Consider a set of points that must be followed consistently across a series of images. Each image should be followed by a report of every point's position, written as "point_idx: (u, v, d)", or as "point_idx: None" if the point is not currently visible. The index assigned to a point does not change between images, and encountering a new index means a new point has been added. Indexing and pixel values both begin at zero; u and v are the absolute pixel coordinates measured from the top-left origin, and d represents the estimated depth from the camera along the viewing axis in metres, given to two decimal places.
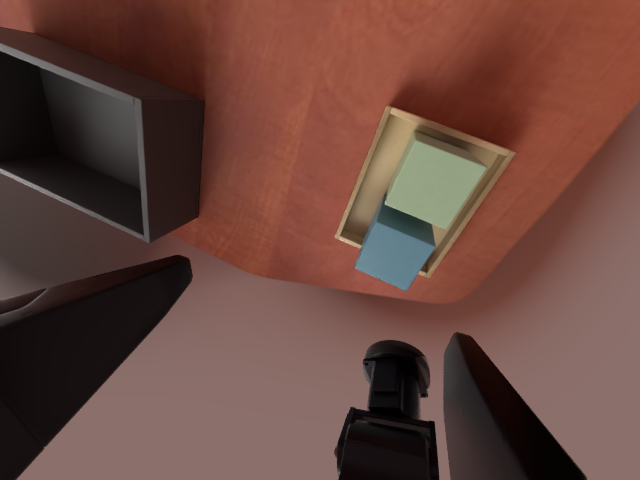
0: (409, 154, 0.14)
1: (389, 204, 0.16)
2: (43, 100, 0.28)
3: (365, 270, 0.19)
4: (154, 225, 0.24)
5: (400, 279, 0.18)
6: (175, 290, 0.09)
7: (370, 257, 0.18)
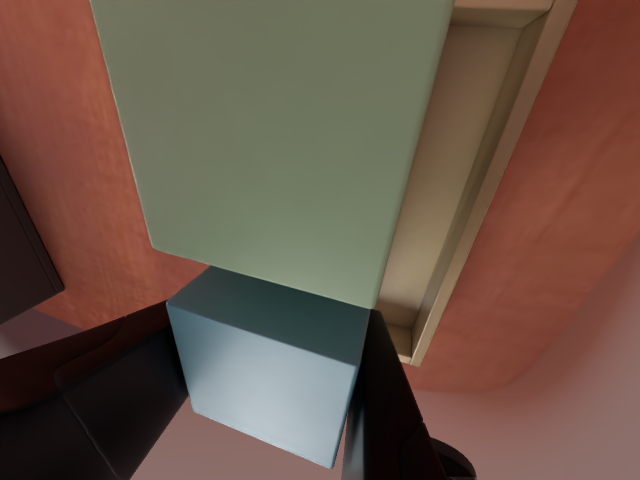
0: (97, 23, 0.03)
1: (161, 247, 0.05)
2: None
3: (216, 418, 0.07)
4: None
5: (303, 444, 0.06)
6: None
7: (209, 392, 0.06)
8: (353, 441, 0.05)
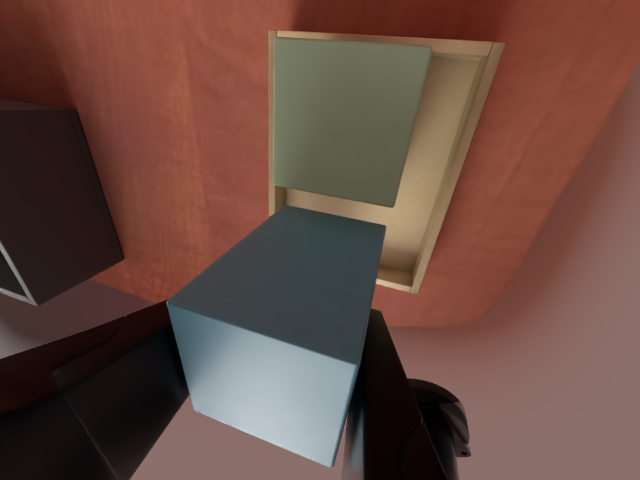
0: (274, 73, 0.07)
1: (279, 183, 0.09)
2: None
3: (217, 417, 0.07)
4: (38, 282, 0.18)
5: (303, 443, 0.06)
6: None
7: (210, 391, 0.06)
8: (353, 441, 0.05)
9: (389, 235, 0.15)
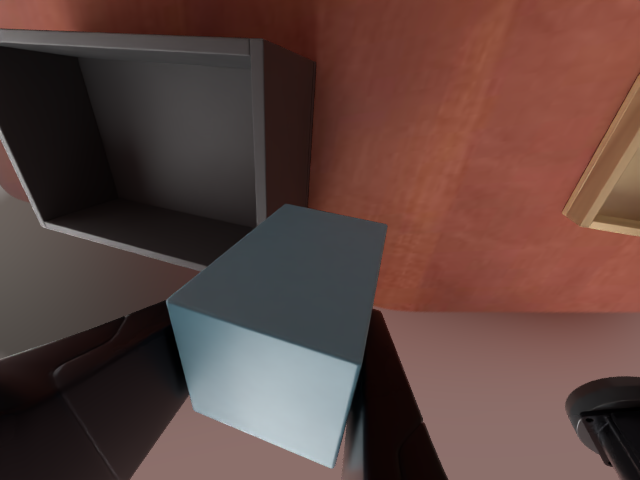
0: None
1: None
2: (96, 133, 0.22)
3: (217, 417, 0.07)
4: None
5: (304, 443, 0.06)
6: None
7: (210, 391, 0.06)
8: (353, 441, 0.05)
9: None
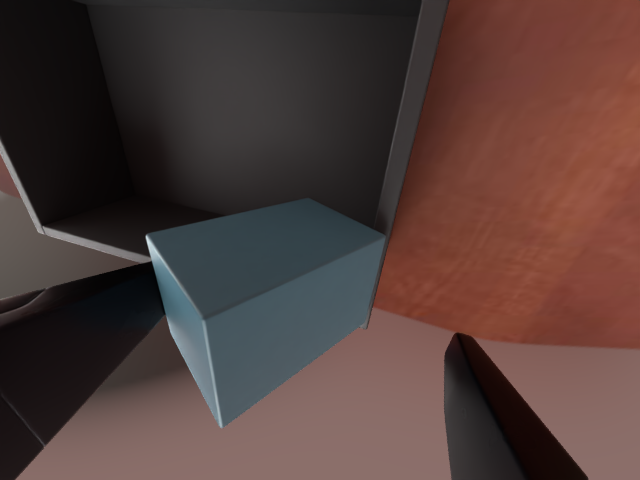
0: None
1: None
2: (109, 110, 0.17)
3: (177, 344, 0.09)
4: None
5: (205, 390, 0.07)
6: None
7: (170, 318, 0.08)
8: None
9: None
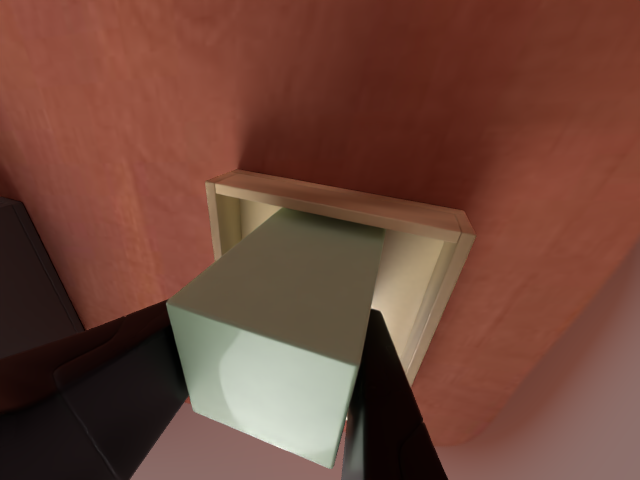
0: (173, 330, 0.06)
1: (199, 413, 0.07)
2: None
3: None
4: None
5: None
6: None
7: None
8: (353, 441, 0.05)
9: None
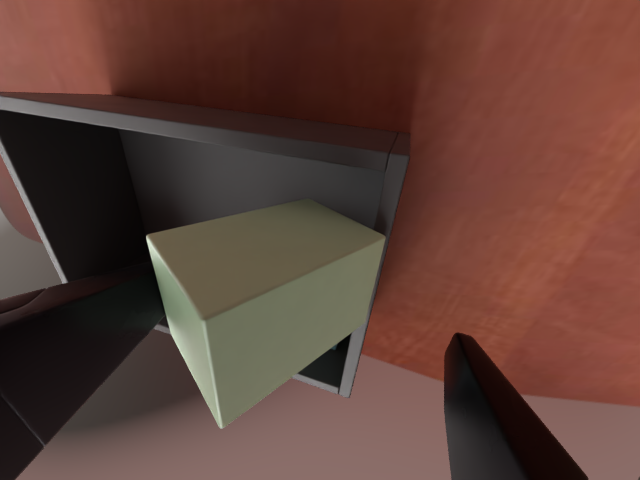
0: (152, 259, 0.08)
1: (172, 336, 0.09)
2: (129, 186, 0.19)
3: None
4: None
5: None
6: None
7: None
8: None
9: None
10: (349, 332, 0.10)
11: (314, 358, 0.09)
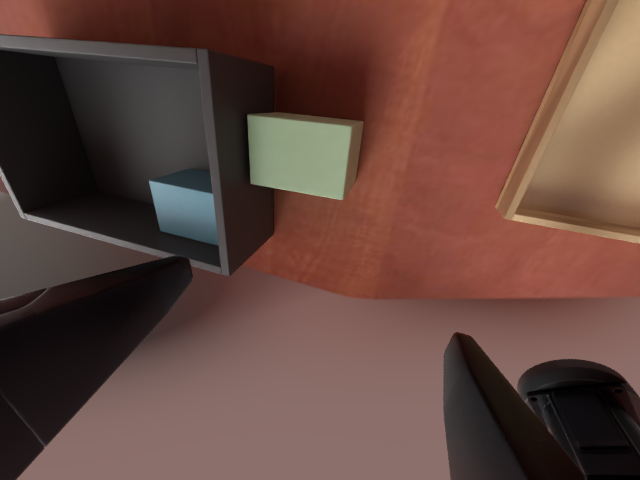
0: (350, 142, 0.14)
1: (344, 196, 0.15)
2: (75, 129, 0.23)
3: None
4: (233, 250, 0.17)
5: None
6: (175, 290, 0.09)
7: None
8: None
9: None
10: None
11: None
